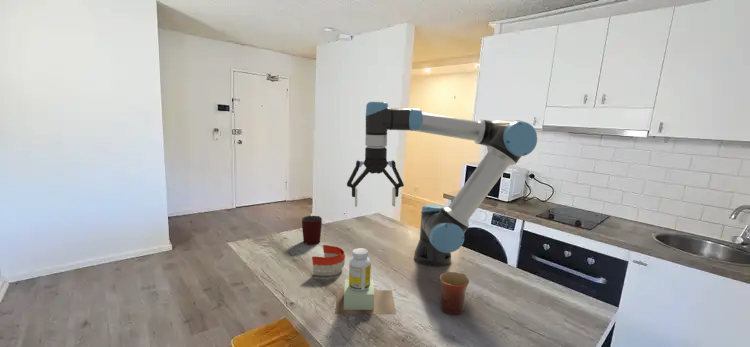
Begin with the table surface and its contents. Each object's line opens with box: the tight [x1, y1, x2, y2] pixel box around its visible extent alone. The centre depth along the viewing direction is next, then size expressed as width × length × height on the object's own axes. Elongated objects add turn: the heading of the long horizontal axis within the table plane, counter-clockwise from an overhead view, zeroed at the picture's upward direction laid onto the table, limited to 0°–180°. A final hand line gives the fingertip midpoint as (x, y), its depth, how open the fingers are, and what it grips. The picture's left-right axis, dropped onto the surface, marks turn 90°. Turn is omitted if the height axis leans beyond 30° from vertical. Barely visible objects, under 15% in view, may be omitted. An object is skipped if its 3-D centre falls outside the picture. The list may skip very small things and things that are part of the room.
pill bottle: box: [348, 247, 372, 291], centre depth 100 cm, size 6×6×12 cm
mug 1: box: [301, 215, 323, 246], centre depth 151 cm, size 12×9×11 cm
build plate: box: [334, 289, 397, 315], centre depth 103 cm, size 18×13×1 cm
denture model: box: [311, 244, 346, 277], centre depth 122 cm, size 12×10×8 cm
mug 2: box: [439, 271, 470, 315], centre depth 102 cm, size 12×9×10 cm
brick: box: [343, 278, 375, 310], centre depth 102 cm, size 9×9×5 cm
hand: (374, 205), depth 118 cm, fingers open, 13 cm apart
